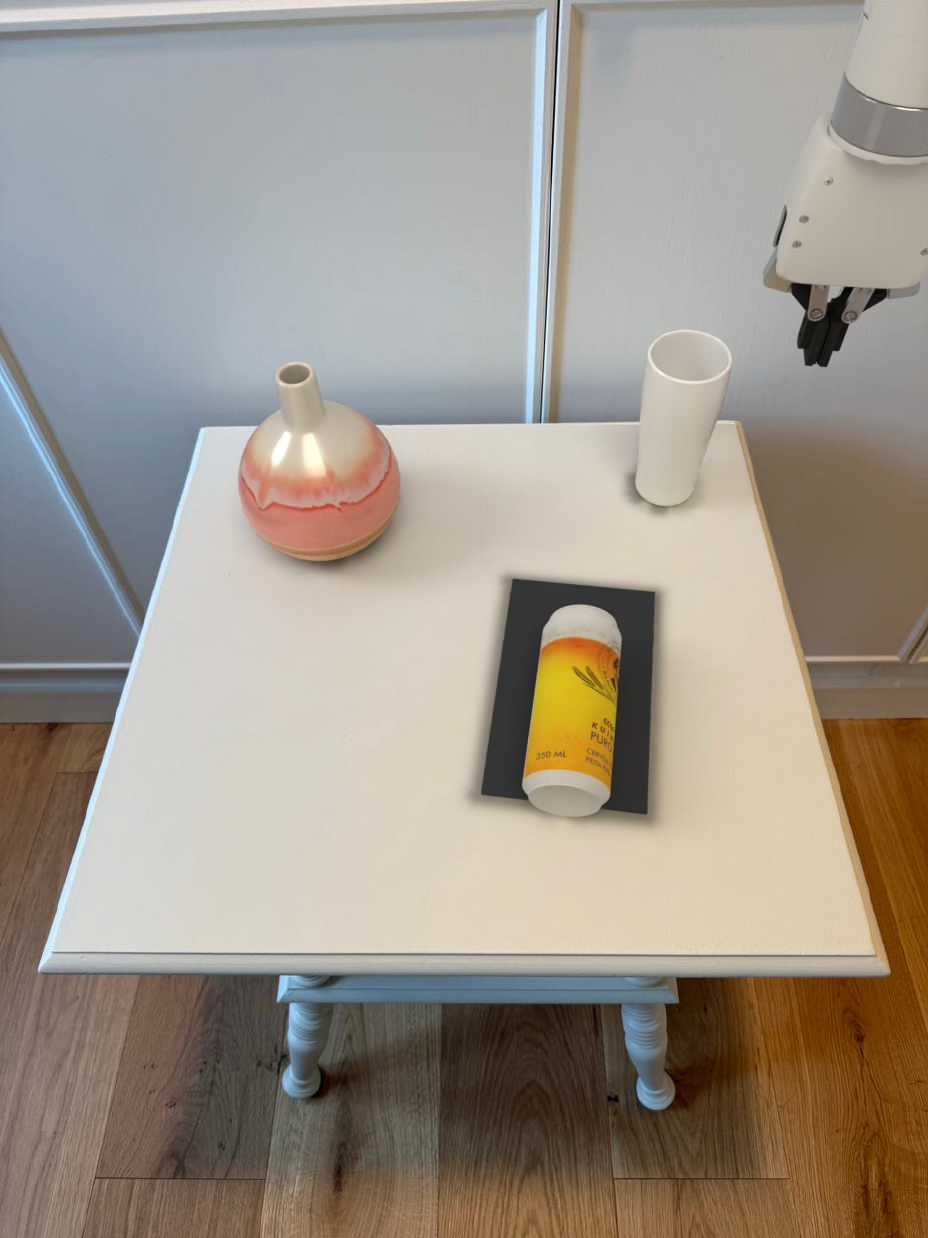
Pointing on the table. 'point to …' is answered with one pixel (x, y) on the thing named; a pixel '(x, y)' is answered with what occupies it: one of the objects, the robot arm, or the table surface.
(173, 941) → the table surface
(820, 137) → the robot arm
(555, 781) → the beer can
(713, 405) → the white tumbler
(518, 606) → the mat
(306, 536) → the vase
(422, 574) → the table surface
